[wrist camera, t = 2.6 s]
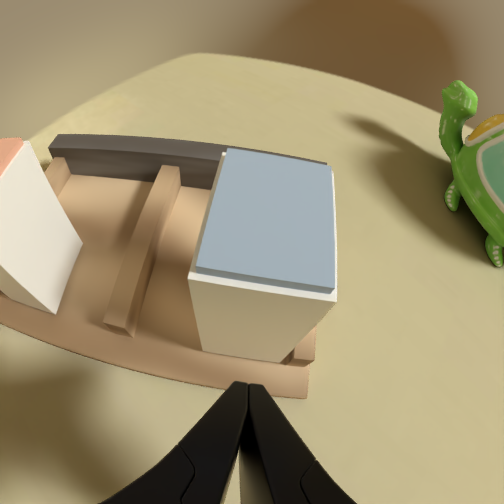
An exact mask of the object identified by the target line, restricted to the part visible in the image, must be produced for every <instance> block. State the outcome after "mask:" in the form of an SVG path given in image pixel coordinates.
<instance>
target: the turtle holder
mask: <svg viewBox="0 0 504 504" xmlns="http://www.w3.org/2000/svg"><path fill="white" fill-rule="evenodd" d="M442 97H443V102H444V110H443V113H442V115H441V119H440V127H439V138H440V140H441V145H442V147H443V149H444V150H445V152H446V154H447V155H448V156H449V158H450V160H451V166H452V172H453V176H454V180H453V182H452V183H451V184H450V185H449V187H448V188H447V190H446V192H445V196H444V198H445V202H446V204H447V206H448V207H449V209H450V210H451V211H456V210H457V208H458V205H459V200H460V197H461V196H463V198H464V200H465V202H466V203H467V205H468V207H469V208H470V210H471V211H472V213H473V214H474V216H475V217H476V218H477V220H478V221H479V222H480V224H481V225H482V226H483V228H484V229H485V230H486V231H487V232H488V233H489V235H488V236H487V238H486V241H485V248H486V251H487V254H488V256H489V258H490V259H491V261H492V262H493V263H494V265H496V266H497V267H501V266H502V264H503V256H502V248H503V247H504V114H497V115H494V116H492V117H490V118H489V119H487V120H485V121H484V122H482V123H481V124H480V125H479V126H477V128H476V129H475V130H474V131H473V132H472V133H471V135H468V136H467V137H466V138H465V144H463V141H462V128H463V125H464V123H465V121H466V120H467V119H469V118H471V117H473V116H474V115H475V114H476V109H477V102H478V98H477V96H476V94H475V92H474V91H473V90H471V89H469V88H468V87H467V86H466V85H465V84H464V83H463V82H461V81H458V80H457V81H454V82H452V83H451V84H450V85H449V86H448V88H444V89H443V90H442Z"/></svg>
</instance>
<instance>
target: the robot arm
mask: <svg viewBox="0 0 504 504" xmlns="http://www.w3.org/2000/svg"><path fill="white" fill-rule="evenodd" d="M238 450H239V475H240V498H241V504H357V503H356V502H355V501H354V500H352V499H351V498H350V497H349V496H348V495H347V494H346V493H345V492H344V491H343V490H342V489H341V488H340V487H339V486H338V485H337V484H336V483H335V482H334V480H333V479H332V478H331V477H330V476H329V474H328V473H327V472H326V471H325V470H324V468H323V467H322V466H321V464H320V463H319V462H318V461H317V460H316V458H315V457H314V455H313V454H312V453H311V451H310V450H309V449H308V447H307V446H306V445H305V443H304V442H303V440H302V439H301V438H300V436H299V435H298V434H297V432H296V431H295V429H294V428H293V427H292V425H291V424H290V422H289V421H288V420H287V418H286V417H285V415H284V414H283V413H282V411H281V410H280V408H279V407H278V405H277V404H276V403H275V401H274V400H273V398H272V397H271V395H270V394H269V392H268V391H267V390H266V388H265V387H264V385H262V384H256V383H249V385H248V383H247V382H241V381H234V382H233V383H232V384H231V385H230V386H229V387H228V388H227V389H226V391H225V392H224V393H223V394H222V395H221V396H220V398H219V399H218V400H217V401H216V402H215V403H214V404H213V405H212V407H211V408H210V409H209V410H208V411H207V412H206V413H205V414H204V416H203V417H202V418H201V419H200V420H199V421H198V422H197V423H196V424H195V426H194V427H193V428H192V429H191V430H190V431H189V432H188V433H187V434H186V435H185V436H184V437H183V438H182V440H181V441H180V442H179V443H178V445H176V446H175V447H174V448H173V449H172V450H171V451H170V452H169V453H168V454H167V455H166V456H165V457H164V458H163V459H162V460H161V461H160V462H159V463H157V464H156V465H155V466H154V467H152V468H151V469H150V470H149V471H147V472H146V473H145V474H143V475H142V476H141V477H139V478H138V479H136V480H135V481H133V482H132V483H131V484H129V485H128V486H126V487H125V488H123V489H122V490H120V491H119V492H117V493H116V494H114V495H113V496H111V497H110V498H108V499H106V500H105V501H103V502H101V503H98V504H224V501H225V498H226V494H227V491H228V487H229V484H230V480H231V477H232V473H233V470H234V466H235V462H236V459H237V454H238Z"/></svg>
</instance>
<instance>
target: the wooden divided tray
mask: <svg viewBox="0 0 504 504" xmlns="http://www.w3.org/2000/svg"><path fill="white" fill-rule="evenodd" d="M228 148H232V149H239V150H246V151H252V152H258V153H265V154H271V155H276V156H282V157H287V158H293V159H298V160H303V161H308V162H313V163H318V164H323V165H327V163H325V162H320V161H315V160H310V159H305V158H300V157H295V156H290V155H284V154H279V153H273V152H267V151H261V150H255V149H248V148H242V147H235V146H228V145H220V144H212V143H204V142H195V141H186V140H176V139H165V138H152V137H138V136H120V135H92V134H58V135H57V136H56V138H55V139H54V140H53V142H52V143H51V144H50V146H49V147H48V149H49V151H50V153H51V156H52V158H53V160H52V162H51V163H50V165H49V166H48V168H47V169H46V171H45V172H44V174H45V176H46V178H47V180H48V182H49V184H50V186H51V188H52V190H53V191H54V193H55V195H56V197H57V199H58V201H59V203H60V205H61V206H62V208H63V210H64V212H65V214H66V215H67V217H68V219H69V221H70V222H71V224H72V226H73V227H74V229H75V231H76V233H77V234H78V236H79V238H80V239H81V241H82V242H83V244H82V247H81V249H80V252H79V254H78V256H77V259H76V261H75V264H74V266H73V269H72V271H71V274H70V276H69V279H68V282H67V284H66V287H65V290H64V292H63V295H62V298H61V301H60V304H59V307H58V310H57V313H56V315H55V314H52V313H49V312H46V311H43V310H40V309H37V308H34V307H31V306H28V305H25V304H23V303H20V302H17V301H14V300H12V299H10V298H9V297H8V296H7V295H5V294H4V293H3V292H2V291H1V290H0V323H1V324H3V325H5V326H7V327H9V328H12V329H14V330H16V331H19V332H21V333H23V334H26V335H28V336H31V337H33V338H36V339H38V340H41V341H43V342H46V343H49V344H51V345H54V346H57V347H60V348H62V349H65V350H68V351H71V352H74V353H77V354H80V355H83V356H86V357H89V358H92V359H95V360H99V361H102V362H105V363H109V364H112V365H115V366H119V367H123V368H126V369H130V370H134V371H138V372H141V373H145V374H150V375H154V376H158V377H162V378H167V379H171V380H176V381H180V382H185V383H190V384H195V385H201V386H206V387H212V388H218V389H224V390H226V389H227V388H228V387H229V386H230V385H231V384H232V383H233V382H234V381H241V382H247V383H248V385H249V383H256V384H262V385H264V387H265V388H266V390H267V391H268V392H269V394H270V395H271V396H276V397H286V398H297V399H306V398H307V393H308V382H309V370H310V363H311V362H313V361H314V359H315V344H316V327H317V325H316V326H315V327H314V328H313V329H312V330H311V331H310V332H309V333H308V334H307V335H306V336H305V337H304V338H303V339H302V340H301V341H300V343H299V344H298V345H297V346H296V347H295V348H294V349H293V350H292V351H291V352H290V353H289V354H288V355H287V356H286V357H285V358H284V359H283V360H282V361H281V362H280V363H277V362H269V361H261V360H254V359H247V358H240V357H234V356H228V355H222V354H216V353H210V352H205V351H203V350H202V345H201V341H200V336H199V332H198V327H197V323H196V318H195V313H194V309H193V304H192V299H191V294H190V289H189V284H188V275H189V271H190V267H191V263H192V259H193V255H194V251H195V247H196V244H197V240H198V236H199V232H200V229H201V225H202V221H203V218H204V214H205V210H206V207H207V203H208V200H209V196H210V193H211V189H212V186H213V183H214V179H215V176H216V172H217V169H218V166H219V162H220V159H221V156H222V153H223V152H225V153H226V152H227V149H228Z"/></svg>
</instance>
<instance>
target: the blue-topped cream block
mask: <svg viewBox="0 0 504 504" xmlns="http://www.w3.org/2000/svg"><path fill="white" fill-rule="evenodd" d="M188 284H189V289H190V294H191V299H192V304H193V309H194V313H195V318H196V323H197V327H198V332H199V336H200V341H201V345H202V350H203V351H205V352H210V353H216V354H222V355H228V356H234V357H240V358H247V359H254V360H261V361H269V362H277V363H280V362H281V361H282V360H283V359H284V358H285V357H286V356H287V355H288V354H289V353H290V352H291V351H292V350H293V349H294V348H295V347H296V346H297V345H298V344H299V343H300V341H301V340H302V339H303V338H304V337H305V336H306V335H307V334H308V333H309V332H310V331H311V330H312V329H313V328H314V327H315V326H316V325H317V323H318V322H319V321H320V320H321V319H322V318H323V317H324V316H325V315H326V314H327V313H328V311H329V310H330V309H331V308H332V307H333V306H334V305H335V304H336V303H337V239H336V211H335V191H334V176H333V171H332V170H331V166H328V165H323V164H318V163H313V162H308V161H303V160H298V159H293V158H287V157H282V156H276V155H271V154H265V153H258V152H252V151H246V150H239V149H232V148H228V149H227V152H226V153H225V152H223V153H222V156H221V159H220V162H219V166H218V169H217V172H216V176H215V179H214V183H213V186H212V189H211V193H210V196H209V200H208V203H207V207H206V210H205V214H204V218H203V221H202V225H201V229H200V232H199V236H198V240H197V244H196V247H195V251H194V255H193V259H192V263H191V267H190V271H189V275H188Z"/></svg>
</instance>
